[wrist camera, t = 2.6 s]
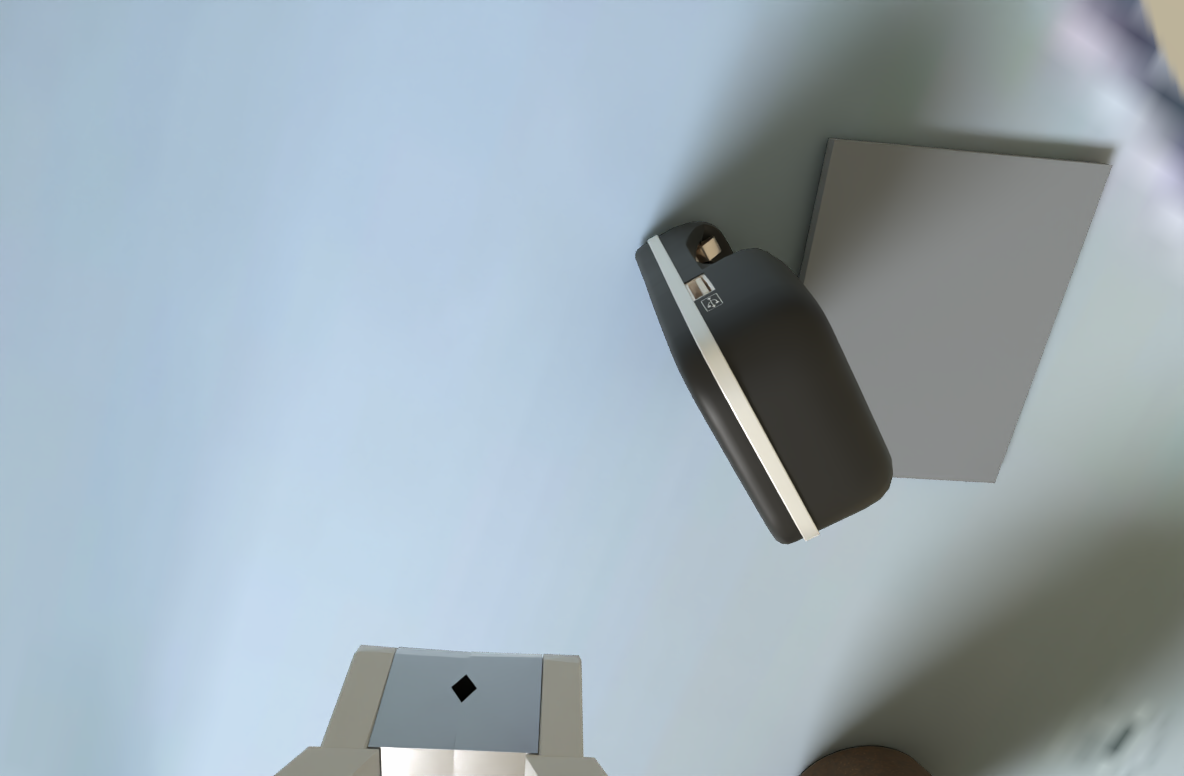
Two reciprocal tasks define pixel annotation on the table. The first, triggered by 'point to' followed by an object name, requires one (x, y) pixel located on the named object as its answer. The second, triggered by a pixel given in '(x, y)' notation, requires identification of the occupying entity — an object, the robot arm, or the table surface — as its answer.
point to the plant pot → (866, 763)
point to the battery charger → (767, 379)
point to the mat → (945, 288)
